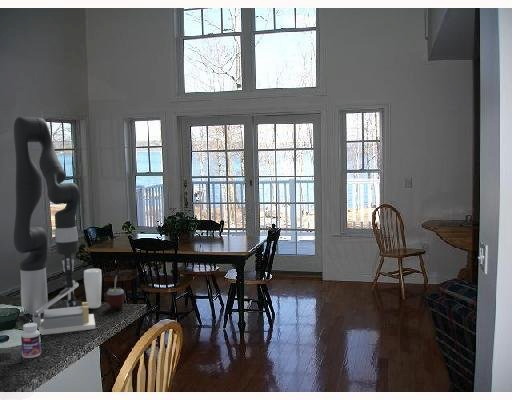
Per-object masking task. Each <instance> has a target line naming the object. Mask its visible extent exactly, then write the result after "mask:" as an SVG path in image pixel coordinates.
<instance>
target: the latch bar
mask: <svg viewBox="0 0 512 400" xmlns="http://www.w3.org/2000/svg"><path fill="white" fill-rule="evenodd" d="M79 285H80V284H79V283H78V282H77V281H76V283H75V284H74V285H73V287H72V288H64V289H62V290H60V292H59V294H58V295H56V296H55V297H53V298H52V299H51V300H49V301H48V303H46V304H45V305H43V306H42V307H41V308H39V309H38V310H37V309H36V310H35V311H34V316H35V317H37V316H38V314H39V313H41V312H42V311H44V310H45V309H46V308H48V309H49V307H51V306H52V305H54V304H55V303H57V302H58V301H59V300H61V299H62V298H64V297H65V296H68V293H70V292H71V291H72V290H75V289H77V288H78V287H79ZM41 314H42V313H41Z"/></svg>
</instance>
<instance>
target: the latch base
mask: <svg viewBox="0 0 512 400" xmlns="http://www.w3.org/2000/svg"><path fill="white" fill-rule="evenodd" d="M89 312H90V311H89V308H88V302H87V301H85V302H81V305H80V306H79V305H78V306H72V307H61V308H60V307H59V308H52V309H51V308H50V309H49V308H48V310H44V313H43V318H42V319H41V314H38V316H37V317H35V316H34V314H33V315H32V320H33V323H36V324H37V327H38V329H39V331H40V334H41V335H40V336H44V335H52V334H54V335H55V334H63V333H71V332H77V331H78V332H79V331H80V332H81V331H87V330H95V329H96V321H95V315H94V313H89Z"/></svg>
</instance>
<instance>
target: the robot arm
mask: <svg viewBox="0 0 512 400" xmlns="http://www.w3.org/2000/svg"><path fill="white" fill-rule="evenodd" d="M13 138H14V139H13V140H14V141H13V142H14V147H15V148H14V149H15V219H14V227H13V228H14V229H13V244H14V248H15V250H16V251H17V252H18V253H20V254H26V253H29V254H28V256H27V257H26V258H24V259H23V260H22V261H20V264H19V269H20V270H19V271H20V285H21V286H20V303H21V308H22V307H23V308H24V309H25V311H27V312H28V313H29V314H30V315H29V316H33V314H34V311H35V310H36V309H37V310H38V309H39V308H41V307H42V306H43V305H45V304H46V303H48V302H49V301H48V283H47V266H46V265H47V261H48V236H47V235H48V234H47V233H46V230H45V229H44V228H43V227H41V226H31V220H32V217H33V213H34V211H35V209H36V207H37V205H38V204H39V202H40V200H41V198H42V194H43V178H42V175H43V177H44V179H45V183H46V188H47V197H48V200H49V201H50V203H52V204H54V205H64V204H65V207H64V208H62V209H61V210H60V209H59V210H57V211H56V212H55V213H54V224H55V231H54V235H55V251H56V254H58V255H63V256H64V257H61V258H62V259H61V260H62V261H61V263H62V267H63V272H64V277H65V283H66V287H67V288H72V287H73V280H74V279H73V277H74V274H73V272H74V268H75V267H74V266H75V265H74V263H75V257H74V256H72V254H77V253H79V235H78V228H77V218H76V217H77V211H78V205H79V201H80V196H81V194H80V188H79V186H78V185H77V184H76V183H74V182H67V183H65V182H64V181H65V180H66V178H67V174H66V172H65V170H64V168H63V166H62V164H61V162H60V159H59V157H58V155H57V153H56V150H55V145H54V142H53V139H52V135H51V132H50V128H49V126H48V124H47V122H46V121H45V119H43V118H42V117H38V116H37V117H34V116H33V117H31V116H18V117H16V119H15V121H14V123H13ZM29 143H39V144H40V146H41V147H42V150H41V154H40V156H39V162H38V163H39V164H38V165H39V169H40V170H39V169H38V167H37V165H36V164H35V162H34V160H33V159H32V157H31V156H30V152H29V151H30V150H29ZM40 171H41V172H40ZM41 173H42V174H41ZM63 182H64V183H63ZM45 310H49V307H48V308H46V309H45ZM39 314H40V315H41V314H44V311H42V312H41V313H39Z"/></svg>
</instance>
